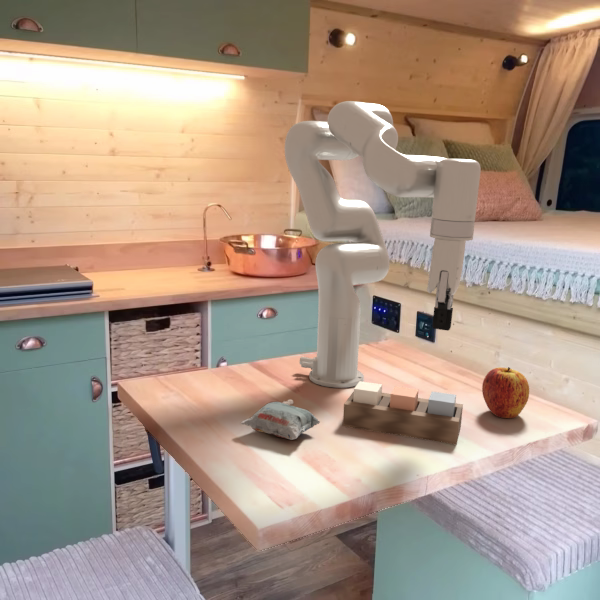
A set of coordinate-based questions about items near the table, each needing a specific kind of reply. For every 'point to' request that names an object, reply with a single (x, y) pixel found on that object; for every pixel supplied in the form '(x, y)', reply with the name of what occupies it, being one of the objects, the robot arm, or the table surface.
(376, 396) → the key cream
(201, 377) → the table surface
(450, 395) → the grey block
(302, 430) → the packaged food
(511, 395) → the apple
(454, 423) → the frame block
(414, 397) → the key terracotta
